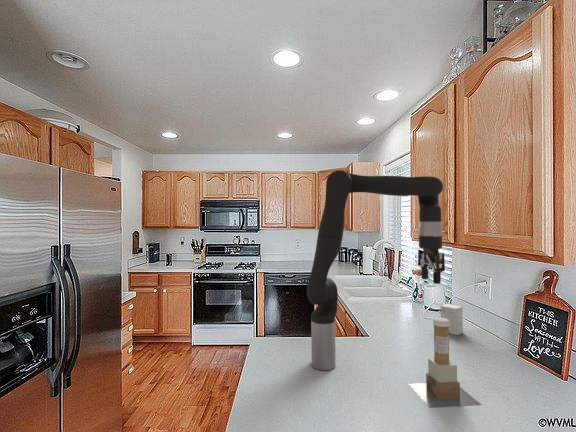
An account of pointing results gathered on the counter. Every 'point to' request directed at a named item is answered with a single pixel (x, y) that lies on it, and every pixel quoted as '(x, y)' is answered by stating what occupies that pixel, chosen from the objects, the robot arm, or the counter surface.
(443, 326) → the sprinkles bottle
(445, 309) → the small box
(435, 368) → the sage top block
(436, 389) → the walnut base block
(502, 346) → the counter surface
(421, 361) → the counter surface
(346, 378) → the counter surface
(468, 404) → the slate board
